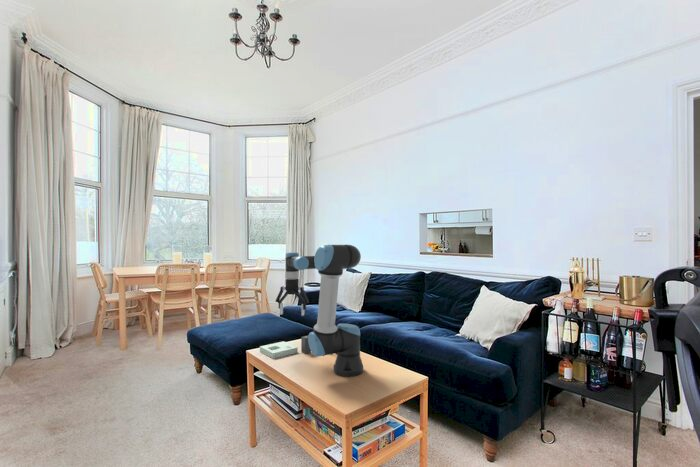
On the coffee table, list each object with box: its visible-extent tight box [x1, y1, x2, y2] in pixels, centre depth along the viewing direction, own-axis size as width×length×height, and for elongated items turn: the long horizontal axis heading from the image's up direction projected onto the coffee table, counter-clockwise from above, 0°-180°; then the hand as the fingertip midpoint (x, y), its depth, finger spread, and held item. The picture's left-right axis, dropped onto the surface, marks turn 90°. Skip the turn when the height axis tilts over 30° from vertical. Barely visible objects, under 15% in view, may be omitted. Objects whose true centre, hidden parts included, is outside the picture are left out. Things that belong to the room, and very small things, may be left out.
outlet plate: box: [259, 341, 299, 359], centre depth 208 cm, size 16×16×3 cm
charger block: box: [300, 335, 312, 355], centre depth 207 cm, size 4×4×9 cm
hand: (292, 314), depth 207 cm, fingers open, 13 cm apart
